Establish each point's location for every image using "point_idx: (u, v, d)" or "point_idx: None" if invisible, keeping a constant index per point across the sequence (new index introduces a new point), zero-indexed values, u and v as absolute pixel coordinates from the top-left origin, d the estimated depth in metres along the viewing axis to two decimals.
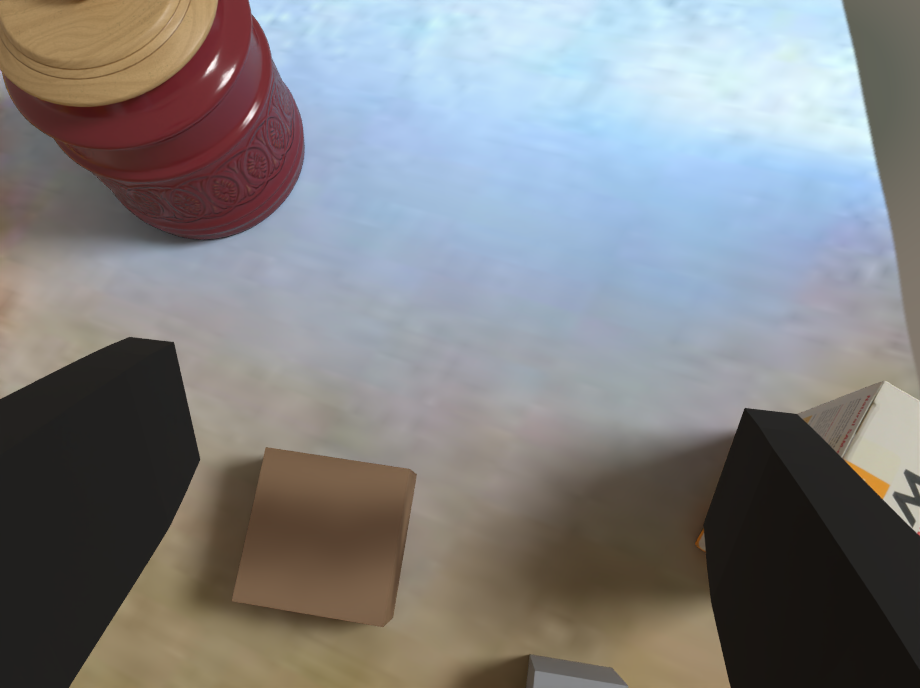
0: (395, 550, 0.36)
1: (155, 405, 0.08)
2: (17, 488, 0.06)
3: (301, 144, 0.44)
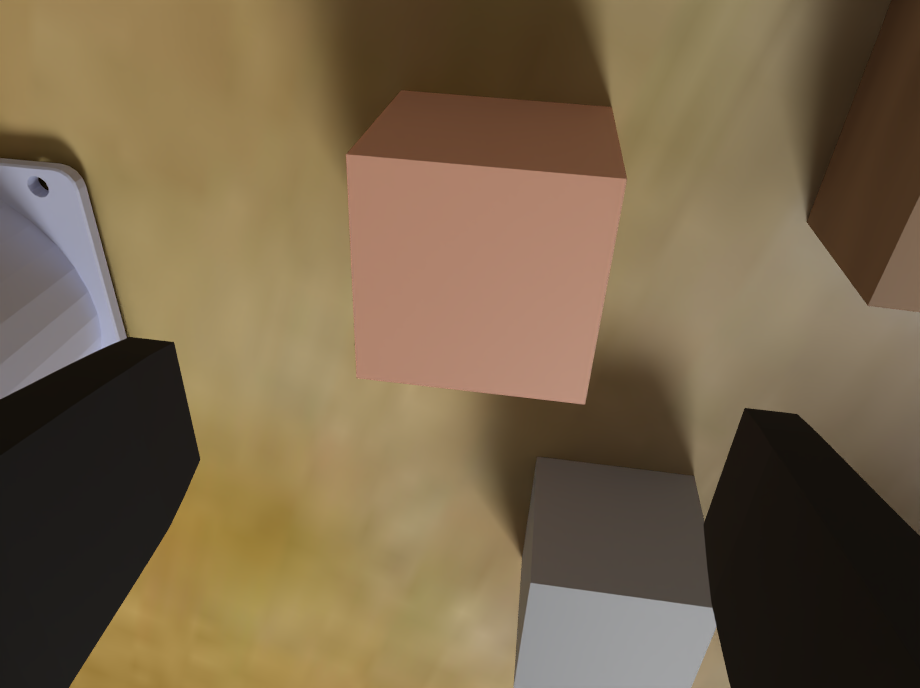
0: None
1: (155, 405, 0.08)
2: (17, 488, 0.06)
3: None
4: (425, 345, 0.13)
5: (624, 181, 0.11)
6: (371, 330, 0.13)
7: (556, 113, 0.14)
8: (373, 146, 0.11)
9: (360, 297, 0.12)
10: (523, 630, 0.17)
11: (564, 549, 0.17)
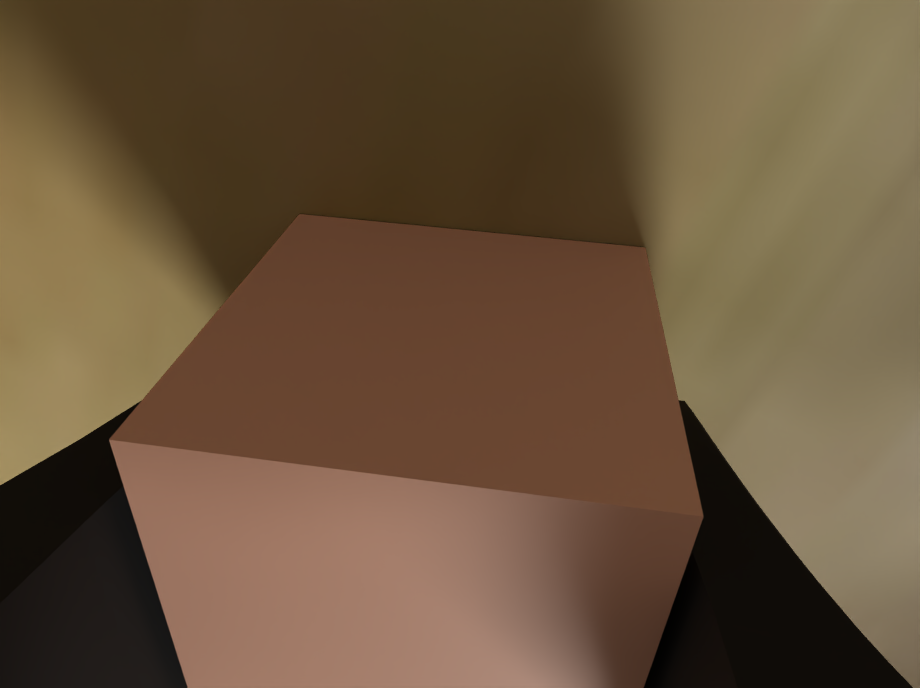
0: None
1: None
2: None
3: None
4: None
5: (697, 521, 0.05)
6: (215, 686, 0.07)
7: (553, 273, 0.08)
8: (180, 403, 0.06)
9: (186, 644, 0.07)
10: None
11: None
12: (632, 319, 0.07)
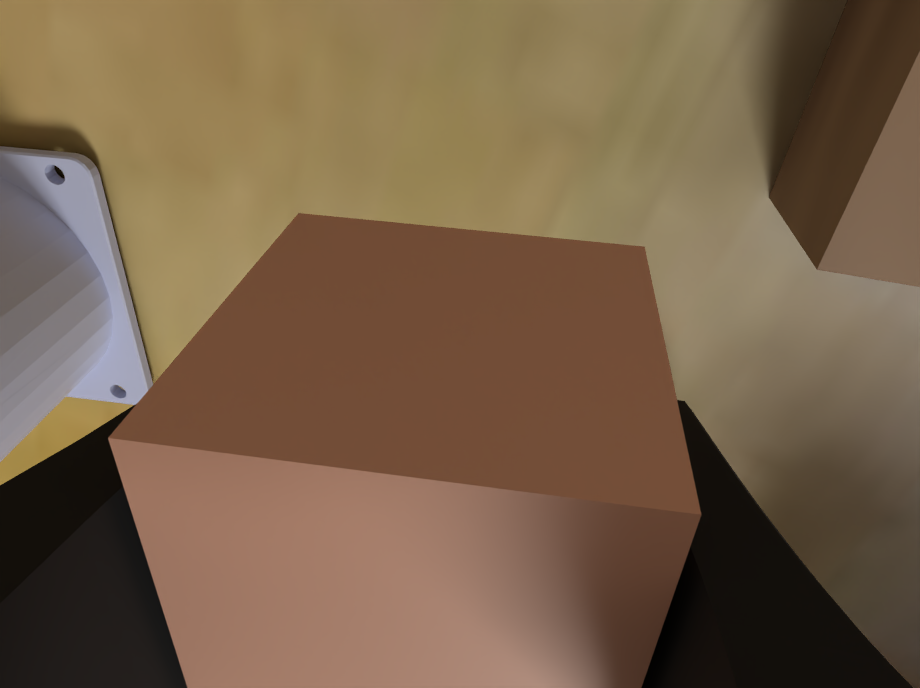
0: None
1: None
2: None
3: None
4: None
5: (695, 520, 0.05)
6: (214, 684, 0.07)
7: (551, 272, 0.08)
8: (179, 402, 0.06)
9: (185, 643, 0.07)
10: None
11: None
12: (631, 318, 0.07)
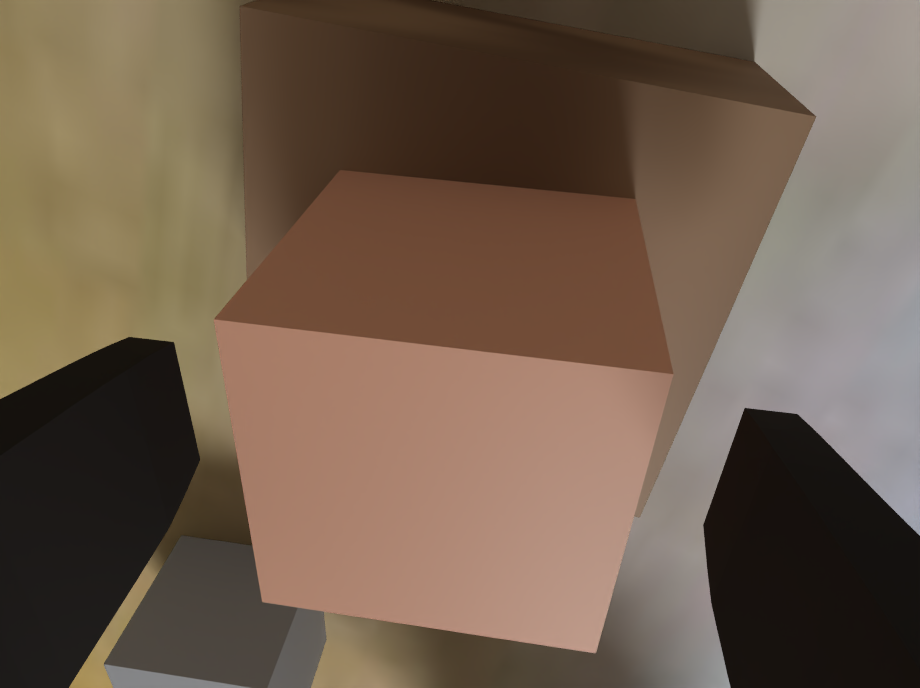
0: None
1: (155, 406, 0.08)
2: (17, 489, 0.06)
3: None
4: (358, 570, 0.09)
5: (669, 378, 0.06)
6: (277, 548, 0.09)
7: (557, 216, 0.09)
8: (265, 298, 0.07)
9: (256, 508, 0.08)
10: None
11: (153, 631, 0.19)
12: (623, 249, 0.09)
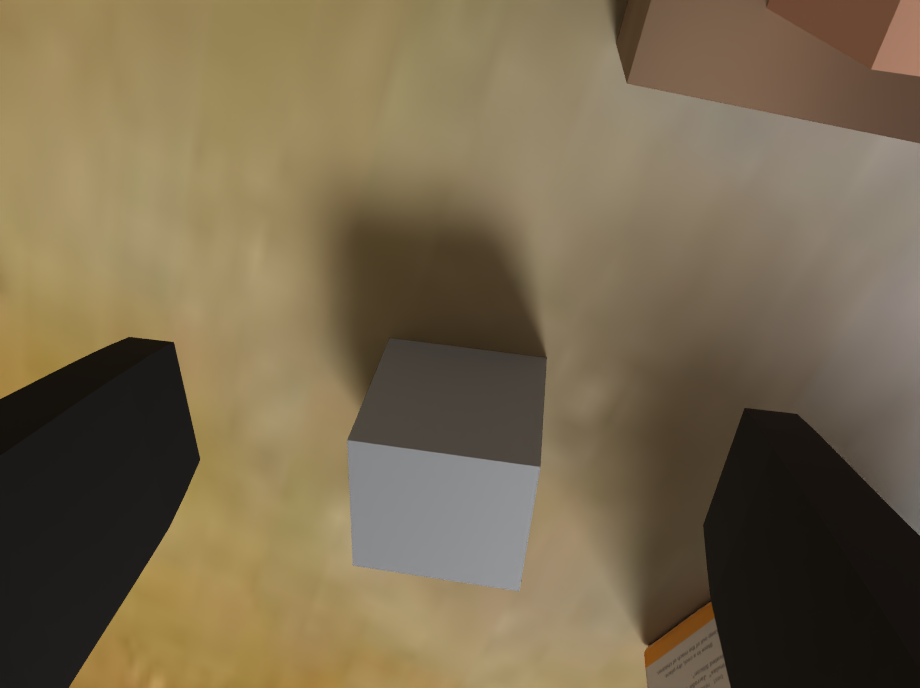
0: (847, 124, 0.12)
1: (155, 405, 0.08)
2: (17, 488, 0.06)
3: None
4: None
5: None
6: None
7: None
8: None
9: None
10: (350, 497, 0.17)
11: (391, 414, 0.17)
12: None
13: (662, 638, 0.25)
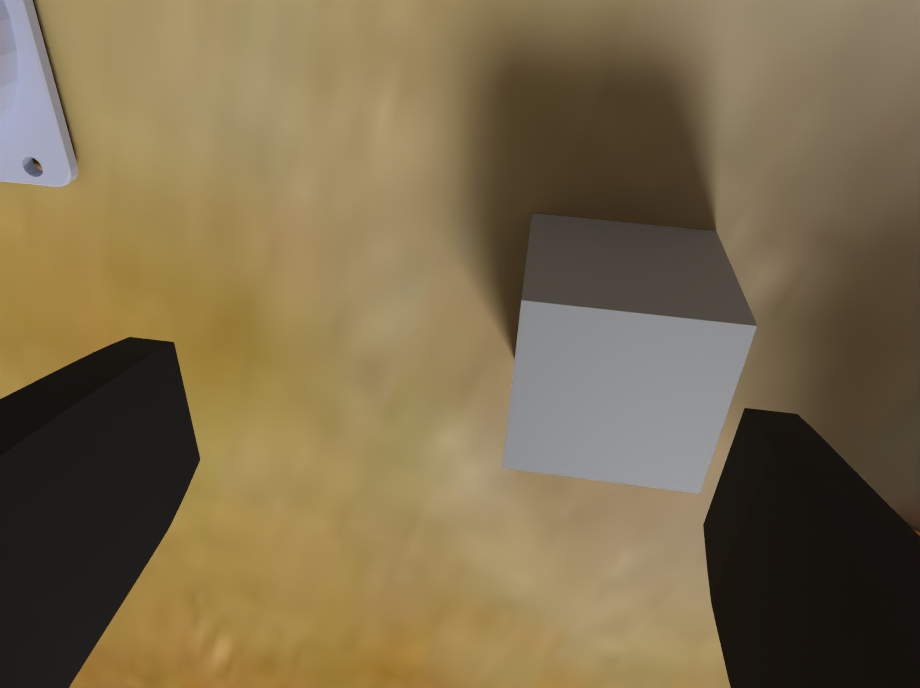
0: None
1: (155, 405, 0.08)
2: (17, 488, 0.06)
3: None
4: None
5: None
6: None
7: None
8: None
9: None
10: (513, 378, 0.14)
11: (562, 277, 0.14)
12: None
13: None
